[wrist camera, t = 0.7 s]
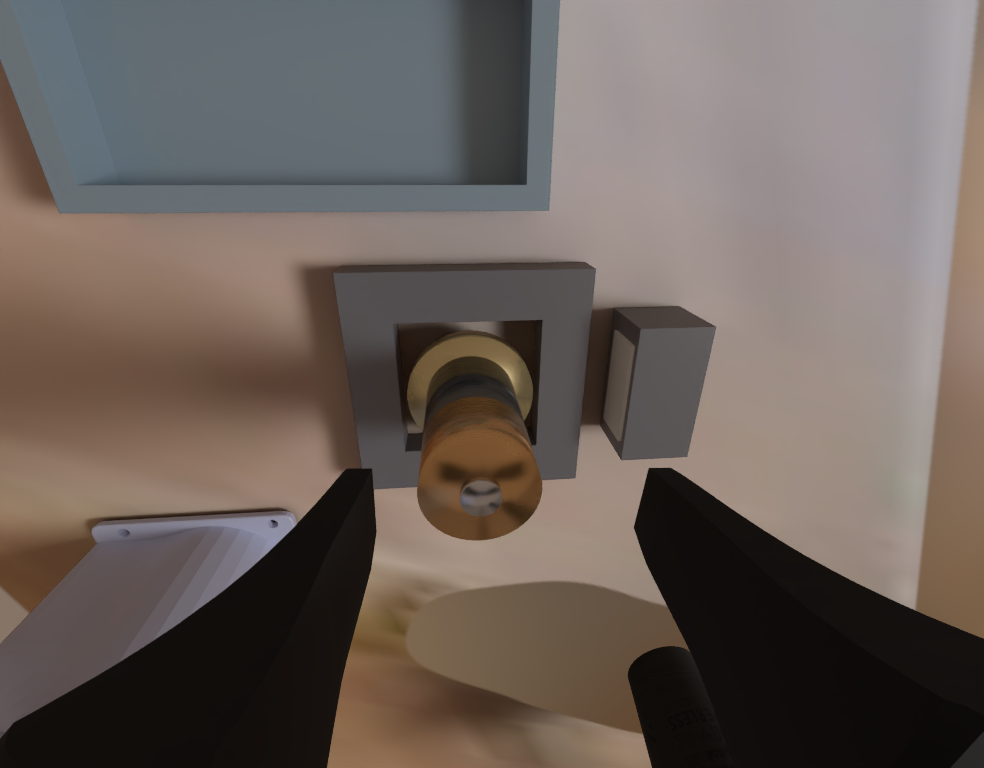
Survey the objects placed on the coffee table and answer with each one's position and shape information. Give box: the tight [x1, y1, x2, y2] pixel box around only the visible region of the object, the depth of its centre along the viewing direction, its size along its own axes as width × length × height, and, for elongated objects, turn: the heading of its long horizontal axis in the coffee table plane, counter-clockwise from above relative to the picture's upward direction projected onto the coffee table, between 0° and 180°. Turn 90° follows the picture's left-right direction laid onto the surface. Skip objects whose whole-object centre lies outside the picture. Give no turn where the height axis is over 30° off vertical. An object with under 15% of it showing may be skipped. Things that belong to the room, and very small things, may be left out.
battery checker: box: [333, 262, 716, 489], centre depth 19 cm, size 14×10×3 cm
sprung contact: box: [407, 331, 533, 431], centre depth 19 cm, size 5×5×1 cm
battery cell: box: [417, 356, 542, 540], centre depth 15 cm, size 4×4×6 cm
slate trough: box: [0, 0, 560, 213], centre depth 14 cm, size 16×8×3 cm, turn 90°
